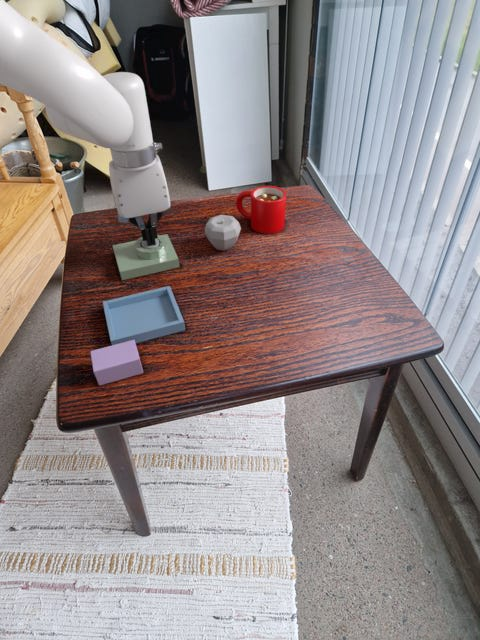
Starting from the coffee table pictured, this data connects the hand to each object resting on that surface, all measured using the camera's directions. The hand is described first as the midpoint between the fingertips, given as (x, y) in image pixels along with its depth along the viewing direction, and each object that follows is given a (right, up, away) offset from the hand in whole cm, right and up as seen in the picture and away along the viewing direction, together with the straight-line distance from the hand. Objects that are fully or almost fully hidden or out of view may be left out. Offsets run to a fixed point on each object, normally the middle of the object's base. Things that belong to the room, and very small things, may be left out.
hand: (150, 241), depth 87 cm
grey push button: (0, -1, +1) cm, 2 cm away
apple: (+15, 0, +6) cm, 16 cm away
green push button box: (-1, -4, +2) cm, 4 cm away
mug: (+23, +7, +13) cm, 27 cm away
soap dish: (+1, -16, -11) cm, 19 cm away
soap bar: (-1, -24, -19) cm, 31 cm away
